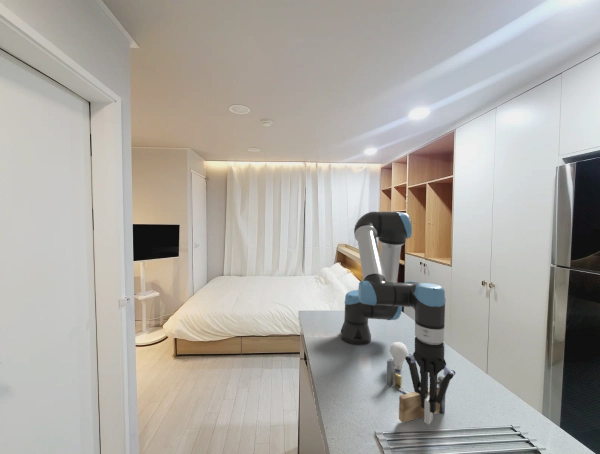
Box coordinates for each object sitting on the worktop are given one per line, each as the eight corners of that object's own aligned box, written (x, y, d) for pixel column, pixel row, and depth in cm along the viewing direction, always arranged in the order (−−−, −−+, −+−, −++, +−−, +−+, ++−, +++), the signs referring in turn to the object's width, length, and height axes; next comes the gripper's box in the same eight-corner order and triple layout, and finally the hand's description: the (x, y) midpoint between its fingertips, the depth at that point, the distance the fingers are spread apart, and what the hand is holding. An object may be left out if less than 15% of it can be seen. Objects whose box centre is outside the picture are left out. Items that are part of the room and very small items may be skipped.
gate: (403, 423, 71) (404, 391, 71) (397, 417, 74) (398, 385, 73) (447, 411, 77) (448, 380, 77) (440, 405, 79) (441, 375, 79)
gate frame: (386, 384, 90) (387, 360, 89) (390, 381, 92) (391, 357, 91) (443, 415, 76) (444, 386, 76) (446, 410, 78) (447, 382, 78)
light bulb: (406, 367, 101) (407, 340, 101) (407, 376, 95) (409, 348, 94) (389, 363, 103) (390, 337, 103) (389, 372, 97) (390, 345, 97)
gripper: (401, 335, 73) (400, 415, 73) (450, 352, 64) (449, 443, 64) (411, 328, 78) (411, 402, 78) (458, 342, 69) (457, 426, 69)
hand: (428, 420), depth 71 cm, fingers closed
